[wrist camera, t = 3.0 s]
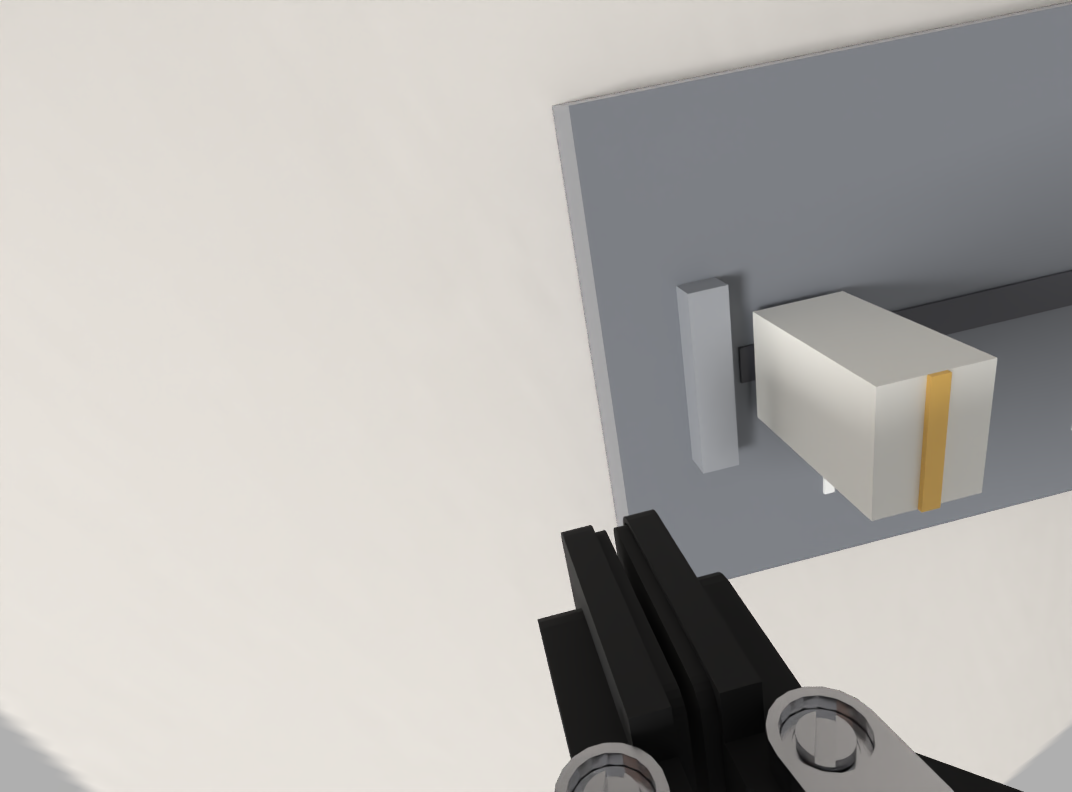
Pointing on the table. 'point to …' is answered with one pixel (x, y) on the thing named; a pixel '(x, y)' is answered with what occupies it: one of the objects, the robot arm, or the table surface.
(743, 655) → the robot arm
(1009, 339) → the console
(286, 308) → the table surface
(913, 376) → the fader
